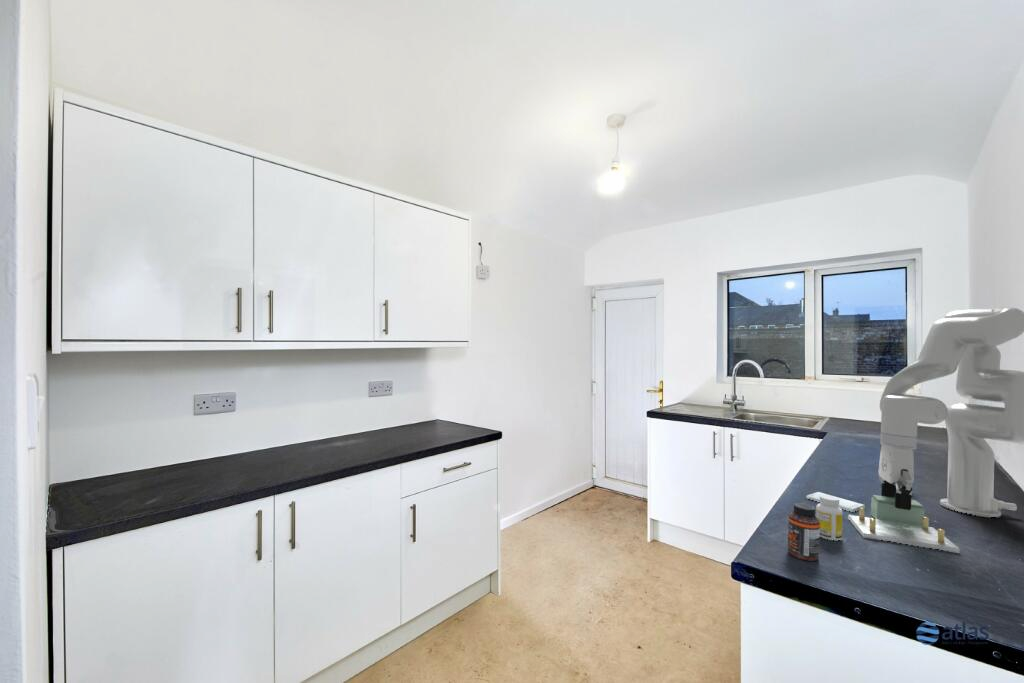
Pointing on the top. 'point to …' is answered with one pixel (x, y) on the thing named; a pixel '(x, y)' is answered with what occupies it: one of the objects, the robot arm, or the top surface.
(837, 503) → the supplement bottle
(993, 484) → the robot arm
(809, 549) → the supplement bottle
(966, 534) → the top surface
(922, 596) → the top surface
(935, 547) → the plate
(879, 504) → the block
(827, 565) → the top surface
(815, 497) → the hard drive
